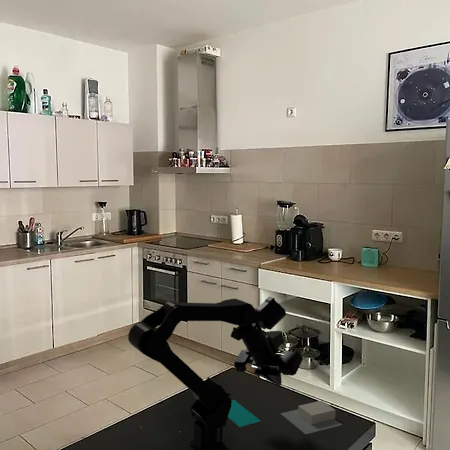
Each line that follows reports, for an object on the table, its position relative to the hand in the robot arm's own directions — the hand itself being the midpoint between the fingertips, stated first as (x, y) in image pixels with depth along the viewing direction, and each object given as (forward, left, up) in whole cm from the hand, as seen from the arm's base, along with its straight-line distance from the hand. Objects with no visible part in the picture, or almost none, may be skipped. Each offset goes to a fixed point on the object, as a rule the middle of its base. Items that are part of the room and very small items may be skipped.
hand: (279, 384), depth 124 cm
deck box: (+6, -4, -9) cm, 11 cm away
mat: (+8, -4, -11) cm, 14 cm away
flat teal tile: (-6, +11, -11) cm, 17 cm away
